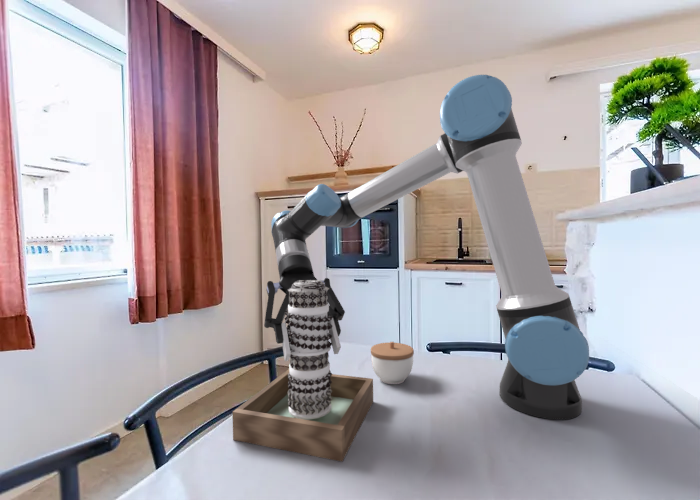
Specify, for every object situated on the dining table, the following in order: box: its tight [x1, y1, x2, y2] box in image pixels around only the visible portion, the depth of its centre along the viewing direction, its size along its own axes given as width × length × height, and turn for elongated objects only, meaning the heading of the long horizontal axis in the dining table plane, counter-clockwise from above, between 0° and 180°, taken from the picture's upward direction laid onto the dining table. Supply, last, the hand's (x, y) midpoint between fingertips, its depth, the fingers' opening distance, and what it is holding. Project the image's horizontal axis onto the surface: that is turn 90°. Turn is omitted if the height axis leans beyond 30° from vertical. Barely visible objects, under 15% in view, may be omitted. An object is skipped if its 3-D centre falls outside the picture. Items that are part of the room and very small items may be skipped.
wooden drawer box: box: [232, 368, 374, 462], centre depth 64 cm, size 20×20×5 cm
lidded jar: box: [370, 341, 415, 385], centre depth 83 cm, size 11×11×9 cm
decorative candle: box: [284, 279, 333, 420], centre depth 64 cm, size 9×9×25 cm
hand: (313, 354), depth 61 cm, fingers closed on decorative candle, 9 cm apart
